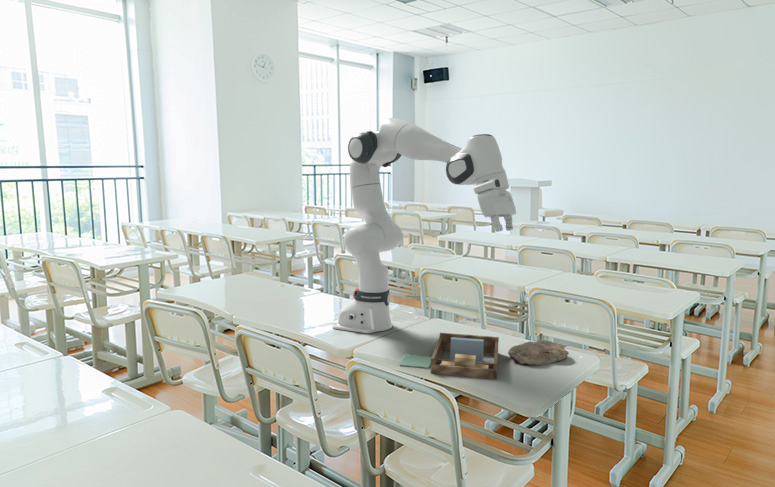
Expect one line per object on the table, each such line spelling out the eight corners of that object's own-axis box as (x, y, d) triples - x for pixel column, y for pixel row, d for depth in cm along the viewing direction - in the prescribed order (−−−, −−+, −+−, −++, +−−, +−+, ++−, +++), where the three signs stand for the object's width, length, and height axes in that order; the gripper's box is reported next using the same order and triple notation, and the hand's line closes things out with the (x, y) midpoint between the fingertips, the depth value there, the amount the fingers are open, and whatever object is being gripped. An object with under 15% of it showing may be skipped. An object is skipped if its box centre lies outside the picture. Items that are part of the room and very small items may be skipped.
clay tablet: (523, 370, 164) (574, 360, 172) (523, 355, 163) (575, 345, 171) (495, 356, 176) (544, 347, 184) (495, 342, 176) (545, 333, 184)
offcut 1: (440, 372, 162) (440, 364, 161) (441, 368, 164) (441, 360, 164) (460, 374, 160) (461, 366, 160) (461, 370, 163) (461, 362, 163)
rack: (430, 373, 160) (431, 355, 159) (439, 348, 181) (440, 332, 181) (496, 379, 156) (497, 360, 155) (498, 353, 177) (498, 337, 176)
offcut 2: (467, 375, 160) (467, 366, 159) (468, 371, 163) (468, 363, 162) (487, 377, 158) (488, 368, 158) (488, 373, 161) (488, 365, 161)
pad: (399, 365, 166) (399, 364, 166) (405, 355, 174) (405, 354, 174) (429, 368, 164) (429, 367, 164) (433, 358, 172) (433, 356, 172)
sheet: (450, 360, 171) (450, 339, 170) (450, 358, 173) (451, 337, 172) (482, 363, 169) (483, 341, 168) (482, 361, 171) (483, 339, 170)
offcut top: (454, 365, 160) (454, 357, 160) (455, 361, 163) (455, 353, 163) (475, 367, 159) (475, 359, 159) (475, 363, 162) (475, 355, 162)
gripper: (495, 190, 173) (506, 232, 172) (471, 187, 156) (482, 234, 155) (514, 184, 170) (525, 227, 169) (491, 181, 152) (503, 229, 151)
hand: (504, 230), depth 162 cm, fingers open, 8 cm apart
